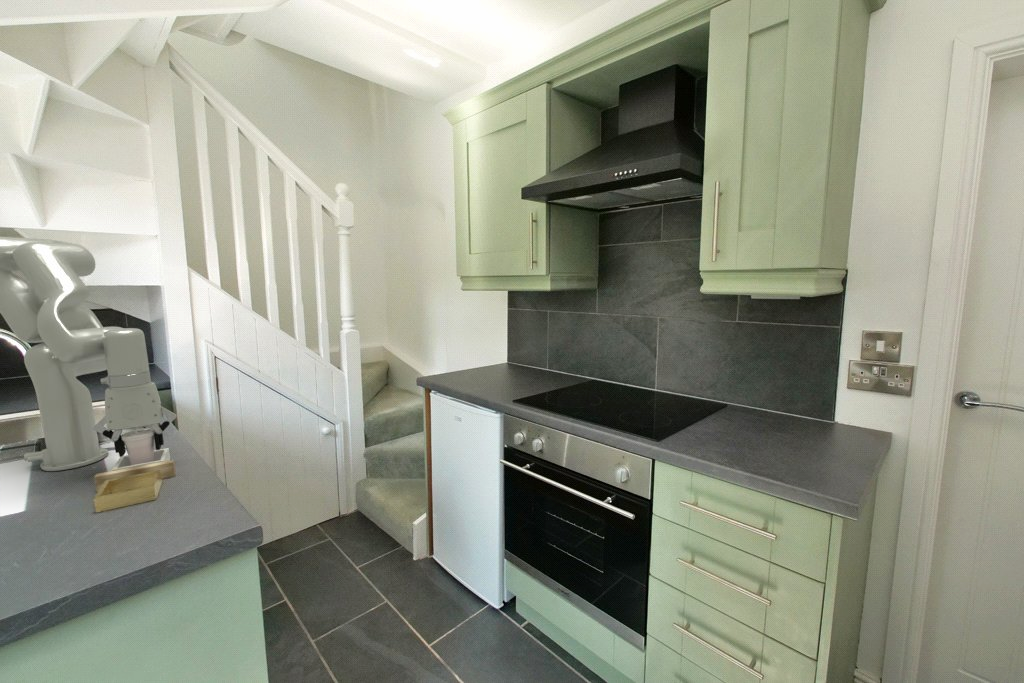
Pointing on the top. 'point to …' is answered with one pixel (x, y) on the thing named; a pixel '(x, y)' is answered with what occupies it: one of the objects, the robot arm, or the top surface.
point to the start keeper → (157, 457)
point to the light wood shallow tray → (128, 491)
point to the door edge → (137, 472)
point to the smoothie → (139, 445)
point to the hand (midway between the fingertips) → (140, 450)
